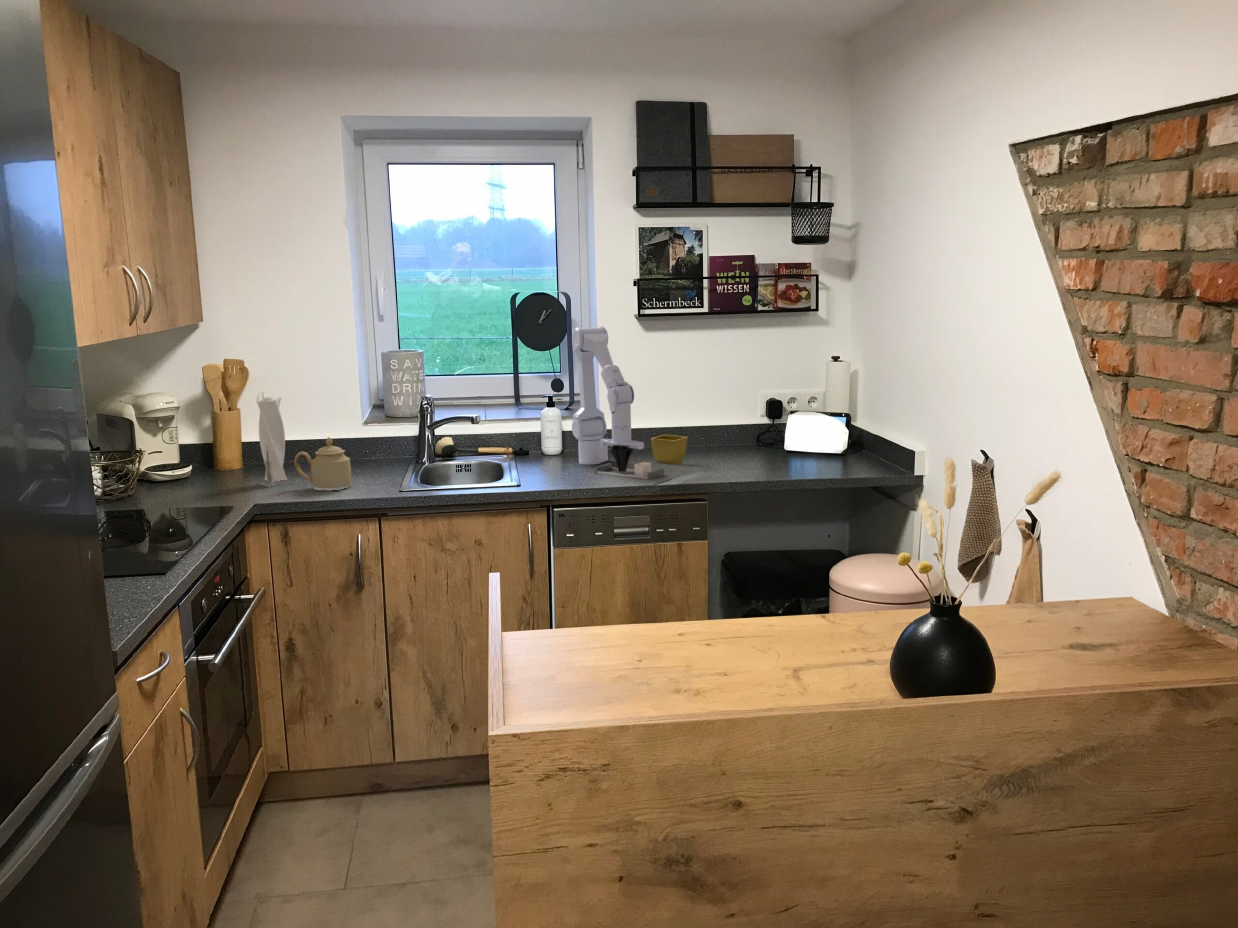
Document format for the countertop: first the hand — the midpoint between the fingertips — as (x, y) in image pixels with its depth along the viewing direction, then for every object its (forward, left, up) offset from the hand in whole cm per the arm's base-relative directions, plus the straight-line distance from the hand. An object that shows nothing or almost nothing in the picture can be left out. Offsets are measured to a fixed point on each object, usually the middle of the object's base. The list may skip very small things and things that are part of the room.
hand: (622, 471), depth 288 cm
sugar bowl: (+55, -67, -2) cm, 87 cm away
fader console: (0, +3, -2) cm, 3 cm away
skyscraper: (+58, -87, -2) cm, 105 cm away
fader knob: (0, +8, -1) cm, 8 cm away
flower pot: (-24, +2, -2) cm, 24 cm away
